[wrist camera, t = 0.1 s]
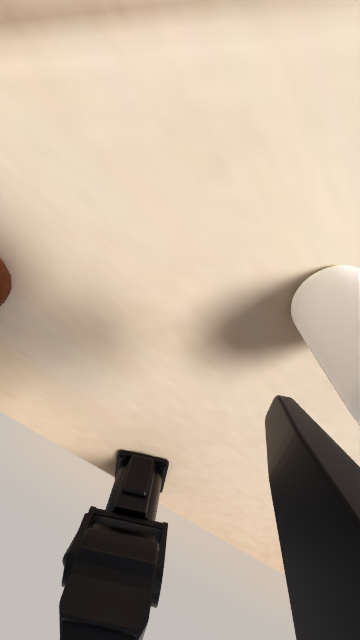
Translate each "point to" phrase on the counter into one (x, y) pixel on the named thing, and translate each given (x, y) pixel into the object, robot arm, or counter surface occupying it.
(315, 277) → the can
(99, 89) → the counter surface
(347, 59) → the counter surface
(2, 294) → the potato
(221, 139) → the counter surface
